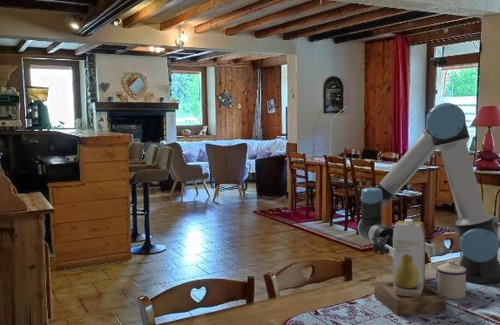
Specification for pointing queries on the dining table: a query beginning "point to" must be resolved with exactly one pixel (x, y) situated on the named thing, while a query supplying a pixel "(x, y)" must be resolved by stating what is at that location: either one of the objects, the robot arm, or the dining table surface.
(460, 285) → the teacup with lid
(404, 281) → the juice carton
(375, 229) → the robot arm
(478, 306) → the dining table surface
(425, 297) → the wooden tray
